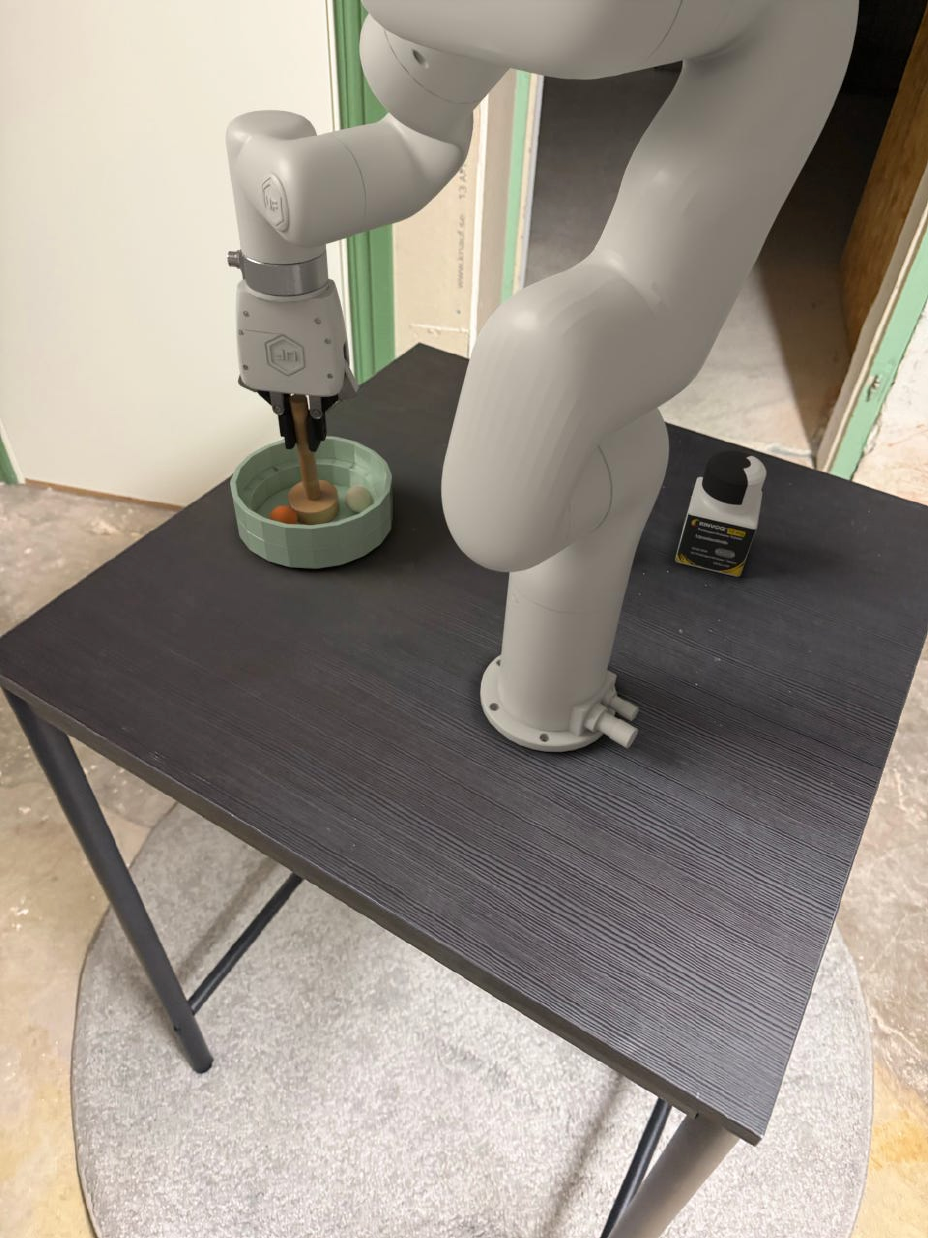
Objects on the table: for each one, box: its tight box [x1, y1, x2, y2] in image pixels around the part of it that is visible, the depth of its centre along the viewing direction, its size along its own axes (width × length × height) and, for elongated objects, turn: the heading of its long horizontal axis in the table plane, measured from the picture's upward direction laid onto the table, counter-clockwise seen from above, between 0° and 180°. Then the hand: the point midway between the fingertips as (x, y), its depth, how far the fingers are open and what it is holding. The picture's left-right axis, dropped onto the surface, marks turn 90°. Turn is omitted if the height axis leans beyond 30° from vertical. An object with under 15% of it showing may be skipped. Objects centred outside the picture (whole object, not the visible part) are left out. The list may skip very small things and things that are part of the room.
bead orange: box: [270, 506, 297, 524], centre depth 95 cm, size 3×3×3 cm
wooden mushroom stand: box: [288, 394, 339, 525], centre depth 93 cm, size 6×6×15 cm
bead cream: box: [345, 486, 372, 512], centre depth 98 cm, size 3×3×3 cm
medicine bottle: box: [674, 449, 767, 578], centre depth 93 cm, size 7×7×12 cm
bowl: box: [229, 435, 394, 569], centre depth 96 cm, size 17×17×6 cm
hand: (304, 442), depth 91 cm, fingers closed on wooden mushroom stand
